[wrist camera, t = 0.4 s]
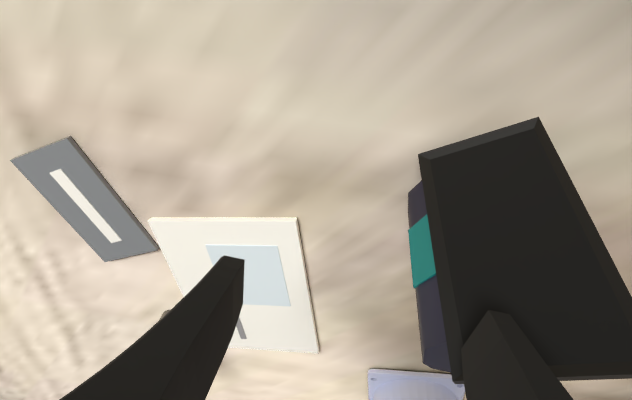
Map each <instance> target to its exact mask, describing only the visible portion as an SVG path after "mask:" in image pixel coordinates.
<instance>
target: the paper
mask: <svg viewBox="0 0 632 400" xmlns="http://www.w3.org/2000/svg"><path fill="white" fill-rule="evenodd" d="M148 223H149V225H150V227H151V229H152V232H153V234H154V236H155V238H156V240H157V242H158V244H159V246H160V248H161V251H162V253H163V255H164V257H165V259H166V261H167V263H168V265H169V267H170V270H171V272H172V274H173V276H174V278H175V280H176V282H177V284H178V286H179V289H180V291H181V293H182V295H183V297H185V296H186V295H187V294H188V293H189V292H190V291H191V290H192V289H193V288H194V287H195V286H196V285H197V283H198V282H199V281H200V280H201V279H202V278H203V277H204V276H205V275H206V274H207V273H208V272H209V271H210V269H211V268H212V267H213V266H214V265H215V264H216V263H217V261H218V260H219V259H220V258H221V257H223V256H224V255H225V256H230V257H235V258H239V259H244V260H245V263H244V291H243V305H242V308H241V312H240V315H239V318H238V321H237V324H236V327H235V330H234V334H233V337H232V339H231V341H230V344H229V346H228V347H229V348H244V349H259V350H274V351H289V352H304V353H319V345H318V339H317V333H316V327H315V321H314V315H313V309H312V303H311V297H310V291H309V286H308V280H307V274H306V268H305V262H304V256H303V250H302V244H301V238H300V232H299V226H298V221H297V217H151V218H150V219H149V220H148Z"/></svg>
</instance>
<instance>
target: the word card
mask: <svg viewBox="0 0 632 400" xmlns="http://www.w3.org/2000/svg"><path fill="white" fill-rule="evenodd" d="M10 161H11V162H12V163H13V164H14V165H15V166H16V167H17V168H18V170H19V171H20V172H21V173H22V174H23V175H24V176H25V177H26V178H27V179H28V180H29V181H30V182H31V183H32V185H33V186H34V187H35V188H36V189H37V190H38V191H39V192H40V193H41V194H42V195H43V196H44V197H45V198H46V200H47V201H48V202H49V203H50V204H51V205H52V206H53V207H54V208H55V209H56V210H57V211H58V212H59V213H60V215H61V216H62V217H63V218H64V219H65V220H66V221H67V222H68V223H69V224H70V225H71V226H72V227H73V228H74V230H75V231H76V232H77V233H78V234H79V235H80V236H81V237H82V238H83V239H84V240H85V241H86V242H87V244H88V245H89V246H90V247H91V248H92V249H93V250H94V251H95V252H96V253H97V254H98V255H99V256H100V257H101V259H102V260H103V261H104V262H107V261H112V260H116V259H120V258H125V257H129V256H134V255H138V254H143V253H147V252H152V251H156V250H158V248H159V246H158V245H157V244H156V243H155V241H154V240H153V239H152V238H151V236H150V235H149V234H148V233H147V231H146V230H145V229H144V228H143V226H142V225H141V224H140V223H139V221H138V220H137V219H136V218H135V216H134V215H133V214H132V213H131V211H130V210H129V209H128V208H127V206H126V205H125V204H124V203H123V201H122V200H121V199H120V198H119V196H118V195H117V194H116V193H115V191H114V190H113V189H112V188H111V186H110V185H109V184H108V183H107V181H106V180H105V179H104V178H103V176H102V175H101V174H100V173H99V171H98V170H97V169H96V168H95V166H94V165H93V164H92V163H91V161H90V160H89V159H88V158H87V156H86V155H85V154H84V153H83V151H82V150H81V149H80V148H79V146H78V145H77V144H76V143H75V141H74V140H73V139H72V138H71V136H69V137H67V138H64V139H62V140H59V141H57V142H54V143H51V144H49V145H46V146H44V147H41V148H39V149H36V150H33V151H31V152H28V153H26V154H23V155H21V156H18V157H15V158H13V159H12V160H10Z"/></svg>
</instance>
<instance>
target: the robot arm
mask: <svg viewBox="0 0 632 400" xmlns="http://www.w3.org/2000/svg"><path fill="white" fill-rule="evenodd" d="M244 263H245V260H244V259H239V258H235V257H230V256H225V255H224V256H223V257H221V258H220V259H219V260H218V261H217V263H216V264H215V265H214V266H213V267H212V268H211V269H210V271H209V272H208V273H207V274H206V275H205V276H204V277H203V278H202V279H201V280H200V281H199V282H198V283H197V285H196V286H195V287H194V288H193V289H192V290H191V291H190V292H189V293H188V294H187V295H186V296H185V297H184V298H183V299H182V300H181V301H180V302H179V303H178V304H177V305H176V306H175V307H174V308H173V309H172V310H171V311H169V312H168V313H167V314H166V315H165V316H164V317H163V318H162V319H161V320H160V321H159V322H157V323H156V324H155V325H154V326H153V327H152V328H151V329H150V330H148V331H147V332H146V333H145V334H144V335H143V336H142V337H141V338H139V339H138V340H137V341H136V342H135V343H134V344H132V345H131V346H130V347H129V348H128V349H126V350H125V351H124V352H123V353H121V354H120V355H119V356H118V357H116V358H115V359H114V360H113V361H111V362H110V363H109V364H108V365H106V366H105V367H104V368H102V369H101V370H100V371H98V372H97V373H96V374H94V375H93V376H92V377H90V378H89V379H88V380H86V381H85V382H84V383H82V384H81V385H79V386H78V387H77V388H75V389H74V390H73V391H71V392H70V393H68V394H67V395H66V396H64V397H63V398H61V399H60V400H205V398H206V396H207V394H208V392H209V389H210V387H211V385H212V382H213V380H214V378H215V376H216V373H217V371H218V369H219V367H220V364H221V362H222V360H223V357H224V355H225V353H226V350H227V348H228V346H229V344H230V341H231V339H232V337H233V334H234V330H235V327H236V324H237V321H238V318H239V315H240V312H241V308H242V305H243V291H244ZM461 357H462V370H463V380H464V384H455V383H454V382H453V381H452V375H451V374H440V373H426V372H412V371H398V370H384V369H370V370H368V394H369V400H463V397H464V394H465V392H466V397H467V400H573V398H572V397H571V396H570V395H569V393H568V392H567V391H566V389H565V388H564V387H563V385H562V384H561V383H560V381H559V380H558V379H557V378H556V376H555V375H554V373H553V372H552V371H551V369H550V368H549V367H548V365H547V364H546V363H545V361H544V360H543V359H542V357H541V356H540V355H539V353H538V352H537V350H536V349H535V348H534V346H533V345H532V344H531V342H530V341H529V340H528V338H527V337H526V335H525V334H524V333H523V331H522V330H521V329H520V327H519V326H518V325H517V323H516V322H515V321H514V319H513V318H512V317H511V315H510V314H506V313H502V312H497V311H492V310H488V311H487V312H486V314H485V315H484V317H483V318H482V320H481V321H480V322H479V324H478V325H477V327H476V328H475V330H474V331H473V333H472V334H471V335H470V337H469V338H468V340H467V341H466V343H465V344H464V345H463V347H462V348H461Z"/></svg>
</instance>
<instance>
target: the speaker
mask: <svg viewBox="0 0 632 400" xmlns="http://www.w3.org/2000/svg"><path fill="white" fill-rule="evenodd" d="M418 157H419V164H420V170H421V177H422V181H421V182H420V183H419V184H417V185H416V186H415V187H414V188H413V189H412V190H411V191H410V192H409V193H408V217H409V228H410V229H409V230H408V232H409V243H410V254H411V265H412V277H413V287H414V288H415V289H416V299H417V309H418V319H419V329H420V339H421V350H422V360H423V363H424V364H425V365H427V366H429V367H430V368H432V369H437V370H442V371H446V372H451V375H452V381H453V382H454V383H455V384H464V380H463V370H462V357H461V348H462V347H463V345H464V344H465V343H466V341H467V340H468V338H469V337H470V335H471V334H472V333H473V331H474V330H475V328H476V327H477V325H478V324H479V322H480V321H481V320H482V318H483V317H484V315H485V314H486V312H487V311H488V310H492V311H497V312H502V313H506V314H510V315H511V317H512V318H513V319H514V321H515V322H516V323H517V325H518V326H519V327H520V329H521V330H522V331H523V333H524V334H525V335H526V337H527V338H528V340H529V341H530V342H531V344H532V345H533V346H534V348H535V349H536V350H537V352H538V353H539V355H540V356H541V357H542V359H543V360H544V361H545V363H546V364H547V365H548V367H549V368H550V369H551V371H552V372H553V373H554V375H555V376H556V378H557V379H558V380H559V381H568V380H597V379H627V378H632V297H631V295H630V293H629V291H628V289H627V287H626V285H625V283H624V281H623V280H622V278H621V276H620V274H619V272H618V270H617V268H616V266H615V264H614V262H613V260H612V258H611V256H610V254H609V252H608V250H607V249H606V247H605V245H604V243H603V241H602V239H601V237H600V235H599V233H598V231H597V229H596V227H595V225H594V223H593V221H592V219H591V218H590V216H589V214H588V212H587V210H586V208H585V206H584V204H583V202H582V200H581V198H580V196H579V194H578V192H577V190H576V188H575V187H574V185H573V183H572V181H571V179H570V177H569V175H568V173H567V171H566V169H565V167H564V165H563V163H562V161H561V159H560V157H559V155H558V154H557V152H556V150H555V148H554V146H553V144H552V142H551V140H550V138H549V136H548V134H547V132H546V130H545V128H544V126H543V124H542V123H541V121H540V119H539V117H537V118H533V119H530V120H527V121H524V122H520V123H517V124H514V125H511V126H508V127H504V128H501V129H498V130H495V131H491V132H488V133H485V134H482V135H479V136H475V137H472V138H469V139H466V140H463V141H459V142H456V143H453V144H450V145H446V146H443V147H440V148H437V149H434V150H430V151H427V152H424V153H421V154H418Z"/></svg>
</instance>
